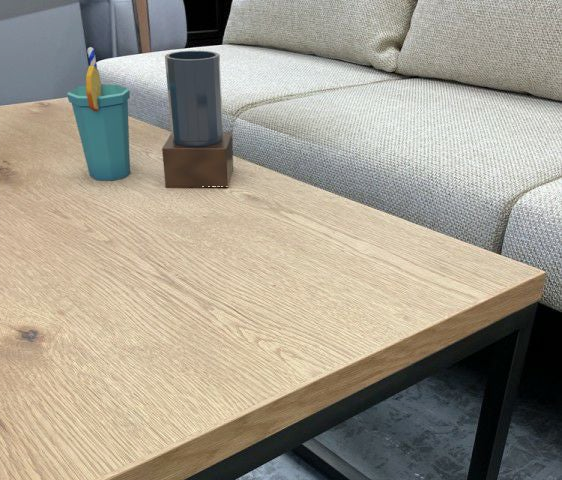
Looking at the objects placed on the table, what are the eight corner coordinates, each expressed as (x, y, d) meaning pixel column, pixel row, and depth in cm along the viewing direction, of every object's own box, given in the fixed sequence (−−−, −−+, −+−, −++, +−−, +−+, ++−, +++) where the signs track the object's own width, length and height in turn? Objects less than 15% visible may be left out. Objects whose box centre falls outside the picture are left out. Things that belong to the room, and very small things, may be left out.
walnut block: (165, 187, 90) (161, 148, 87) (175, 168, 96) (172, 131, 93) (227, 188, 89) (226, 148, 87) (233, 168, 96) (231, 131, 93)
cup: (77, 160, 99) (58, 44, 91) (132, 155, 101) (118, 41, 93) (83, 191, 88) (62, 63, 80) (145, 185, 90) (130, 59, 82)
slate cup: (168, 146, 87) (160, 59, 82) (176, 132, 93) (169, 50, 87) (220, 146, 87) (216, 60, 82) (225, 132, 93) (221, 50, 87)
